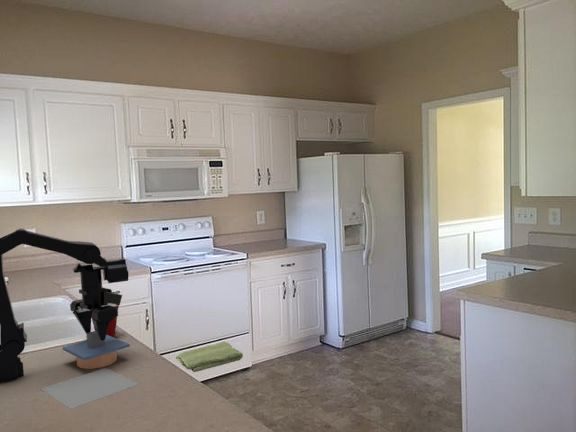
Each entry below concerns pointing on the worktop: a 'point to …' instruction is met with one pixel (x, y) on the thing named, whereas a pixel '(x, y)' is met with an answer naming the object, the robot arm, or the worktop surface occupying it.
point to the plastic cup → (112, 324)
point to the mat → (88, 387)
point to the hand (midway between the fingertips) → (95, 337)
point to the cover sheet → (95, 351)
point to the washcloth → (209, 356)
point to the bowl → (97, 361)
